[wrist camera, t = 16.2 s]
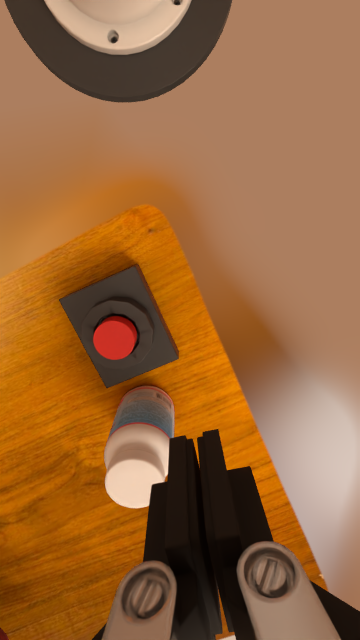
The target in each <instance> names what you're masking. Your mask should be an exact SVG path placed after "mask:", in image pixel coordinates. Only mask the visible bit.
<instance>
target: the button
mask: <svg viewBox="0 0 360 640" xmlns="http://www.w3.org/2000/svg"><path fill="white" fill-rule="evenodd" d="M136 339H137V332H136V329H135V326H134V325H133V323H132V322H131V321H129V320H128V319H126V318H124V317H121V316H111V317H108V318H107V319H105V320H104V321H103V322H102V323H101V324H100V325H99V326H98V327H97V329H96V330H95V333H94V336H93V342H94V346H95V348H96V350H97V351H98V352H99V353H100V354H101V355H102V356H103V357H105V358H108V359H112V360H118V359H122V358H124V357H126V356H128V355H129V354H130V353H131V351H132V350H133V347H134V345H135V342H136Z"/></svg>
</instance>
